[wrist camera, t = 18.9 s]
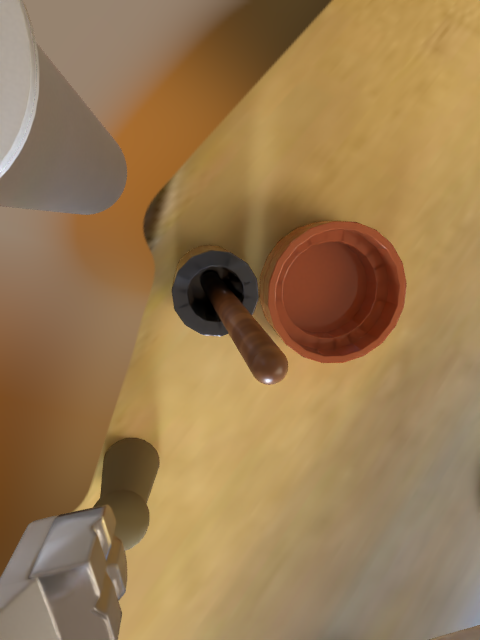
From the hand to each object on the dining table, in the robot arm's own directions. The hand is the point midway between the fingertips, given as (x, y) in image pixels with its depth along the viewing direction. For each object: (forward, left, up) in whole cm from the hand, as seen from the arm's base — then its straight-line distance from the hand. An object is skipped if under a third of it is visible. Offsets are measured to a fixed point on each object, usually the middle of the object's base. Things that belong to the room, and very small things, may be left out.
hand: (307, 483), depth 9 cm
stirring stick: (0, 0, -34) cm, 34 cm away
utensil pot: (0, 0, -35) cm, 35 cm away
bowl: (+11, +3, -35) cm, 37 cm away
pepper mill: (-2, -22, -35) cm, 42 cm away
